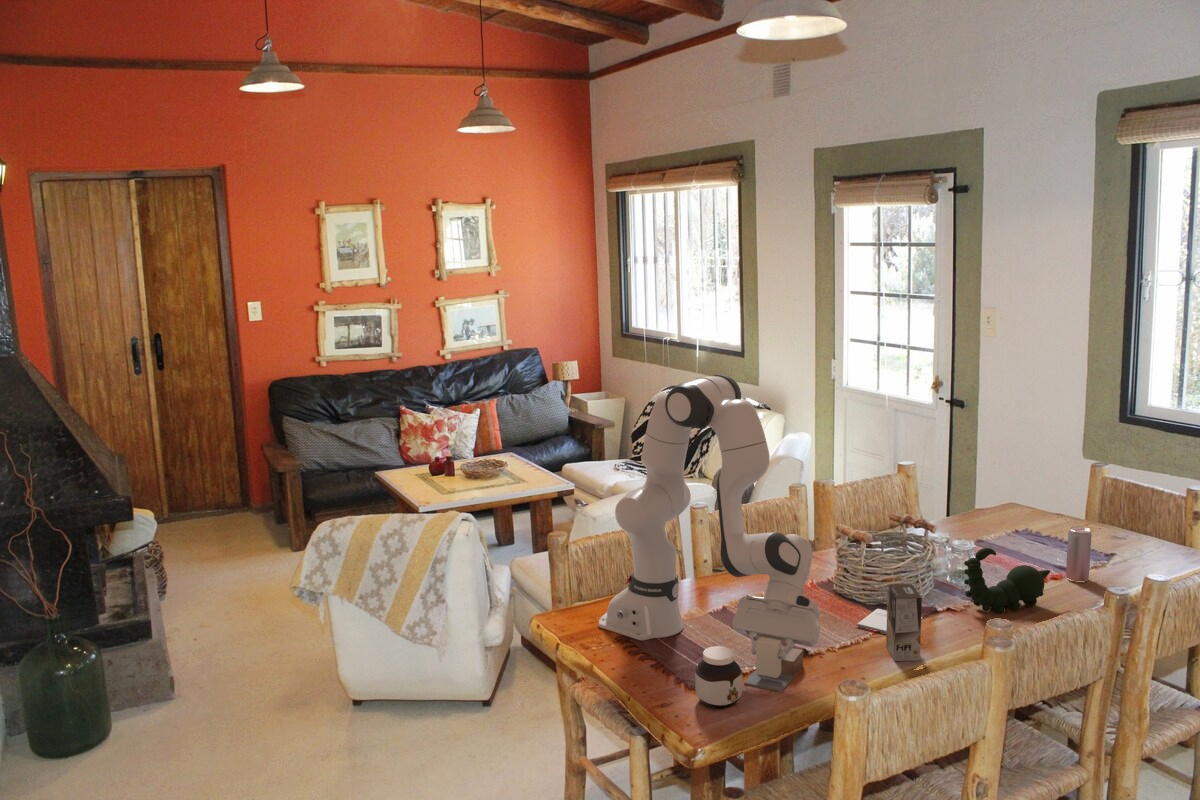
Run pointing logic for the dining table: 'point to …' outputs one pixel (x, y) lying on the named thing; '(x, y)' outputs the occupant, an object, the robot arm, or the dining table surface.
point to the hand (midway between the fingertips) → (767, 656)
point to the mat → (769, 681)
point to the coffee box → (903, 622)
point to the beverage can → (1078, 553)
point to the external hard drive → (875, 621)
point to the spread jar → (718, 678)
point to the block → (768, 657)
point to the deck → (792, 662)
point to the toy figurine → (1003, 585)
